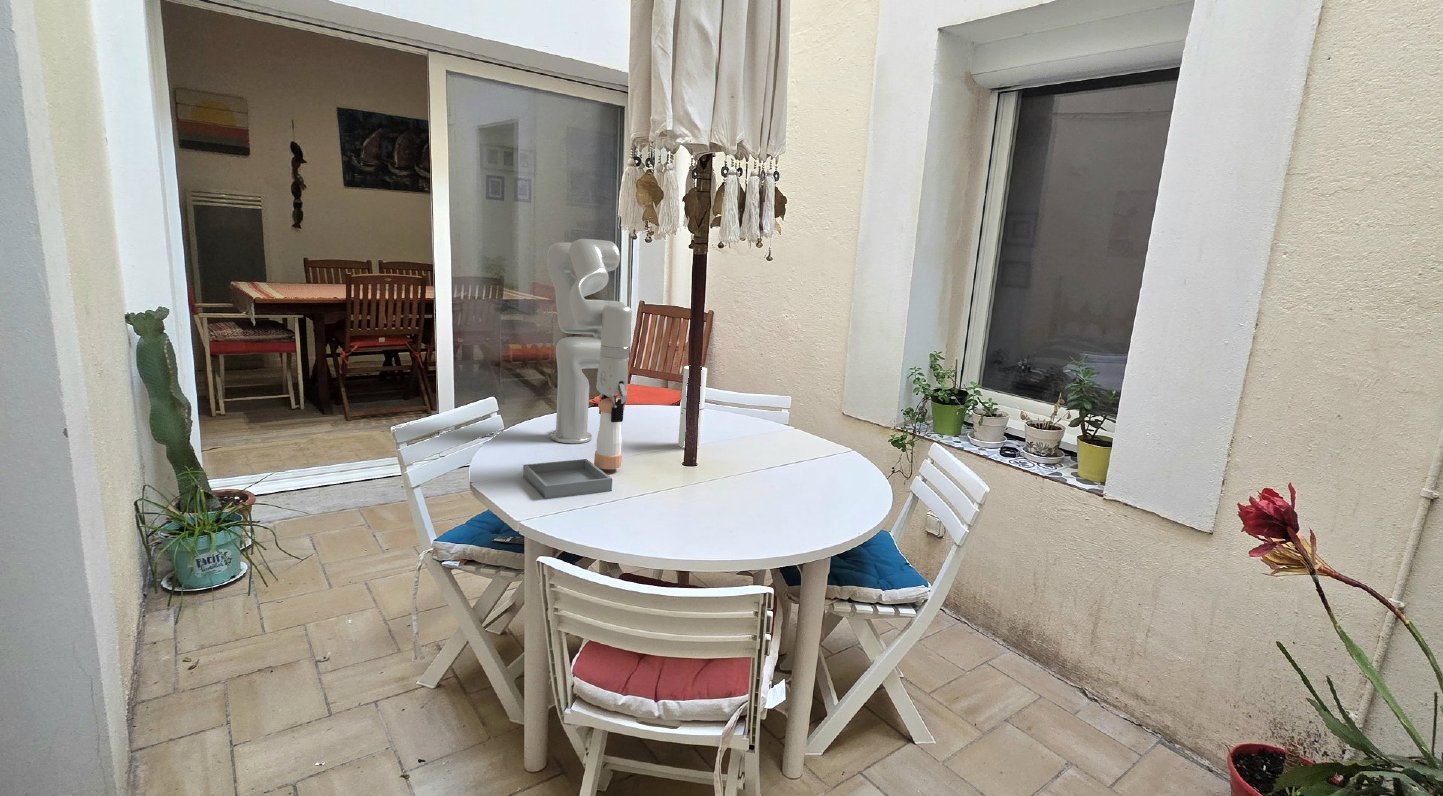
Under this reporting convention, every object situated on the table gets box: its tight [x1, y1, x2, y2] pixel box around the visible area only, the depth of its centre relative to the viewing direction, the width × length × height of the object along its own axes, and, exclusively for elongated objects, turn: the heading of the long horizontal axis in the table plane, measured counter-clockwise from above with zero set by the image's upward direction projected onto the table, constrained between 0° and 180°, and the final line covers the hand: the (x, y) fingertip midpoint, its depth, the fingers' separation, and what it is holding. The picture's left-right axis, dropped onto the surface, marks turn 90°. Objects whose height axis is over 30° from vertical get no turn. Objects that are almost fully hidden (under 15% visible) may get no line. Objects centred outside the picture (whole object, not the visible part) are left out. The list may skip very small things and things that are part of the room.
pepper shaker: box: [593, 397, 626, 470], centre depth 187 cm, size 7×7×19 cm
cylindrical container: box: [677, 365, 708, 449], centre depth 217 cm, size 7×7×25 cm
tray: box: [522, 458, 613, 500], centre depth 176 cm, size 17×17×3 cm
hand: (610, 417), depth 186 cm, fingers closed on pepper shaker, 7 cm apart
